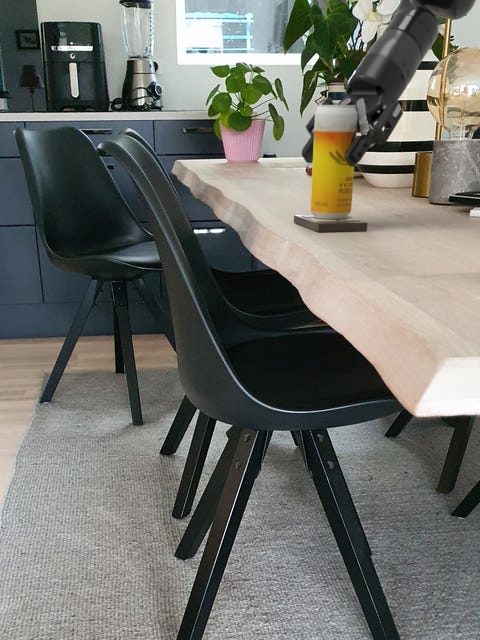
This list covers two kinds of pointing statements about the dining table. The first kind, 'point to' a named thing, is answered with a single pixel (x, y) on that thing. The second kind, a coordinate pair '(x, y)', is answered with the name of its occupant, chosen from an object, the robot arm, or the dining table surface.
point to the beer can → (332, 161)
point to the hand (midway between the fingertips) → (326, 160)
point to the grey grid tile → (330, 223)
